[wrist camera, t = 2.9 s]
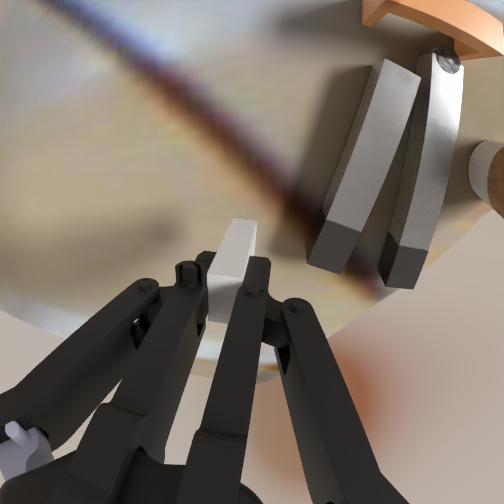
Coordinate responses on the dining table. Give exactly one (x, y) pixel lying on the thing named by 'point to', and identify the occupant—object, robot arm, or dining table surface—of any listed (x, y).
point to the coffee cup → (488, 174)
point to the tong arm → (362, 165)
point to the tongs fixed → (424, 167)
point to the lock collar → (446, 23)
